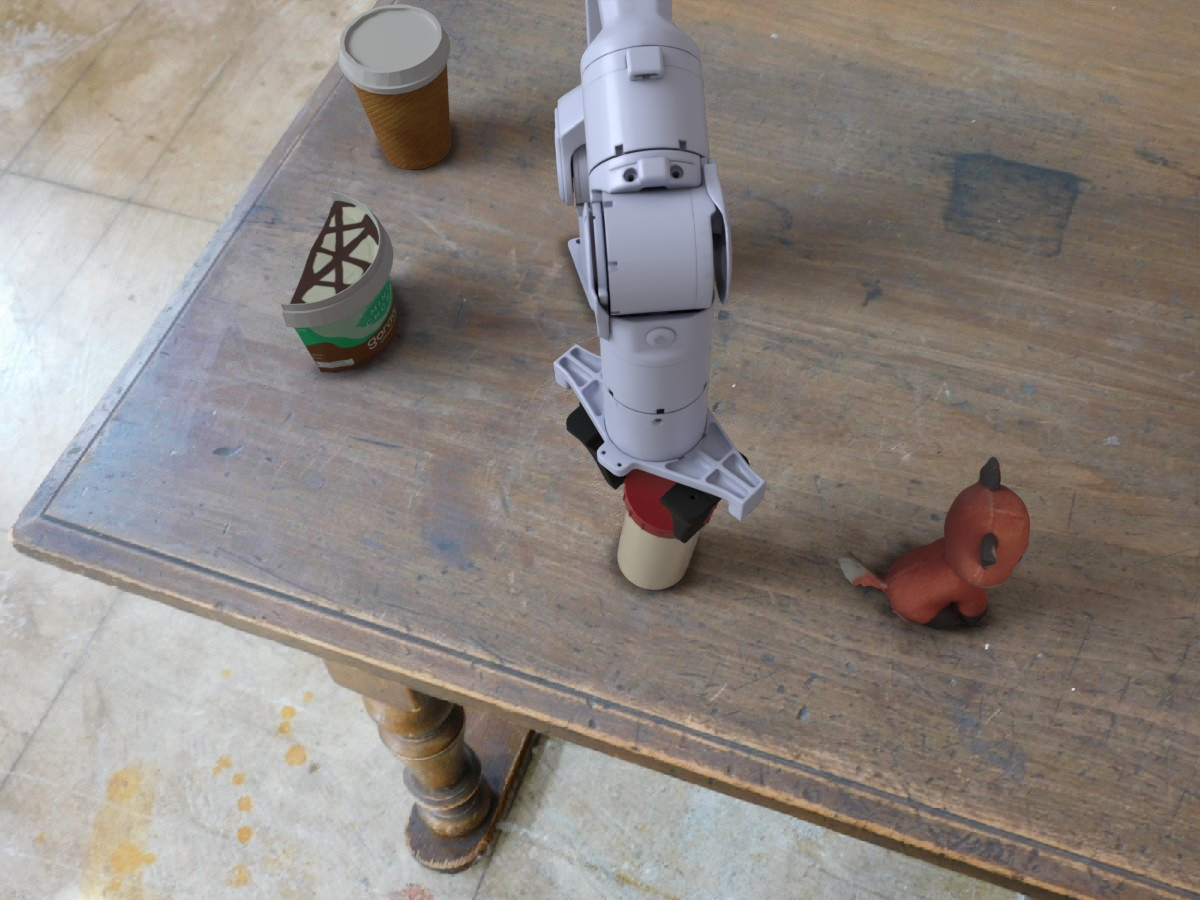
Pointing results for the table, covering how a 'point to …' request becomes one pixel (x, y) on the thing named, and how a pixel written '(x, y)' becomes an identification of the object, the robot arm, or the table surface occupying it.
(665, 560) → the jar
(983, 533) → the stuffed fox
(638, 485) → the lid
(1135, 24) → the table surface
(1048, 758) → the table surface
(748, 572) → the table surface
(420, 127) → the disposable coffee cup
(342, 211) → the food container
